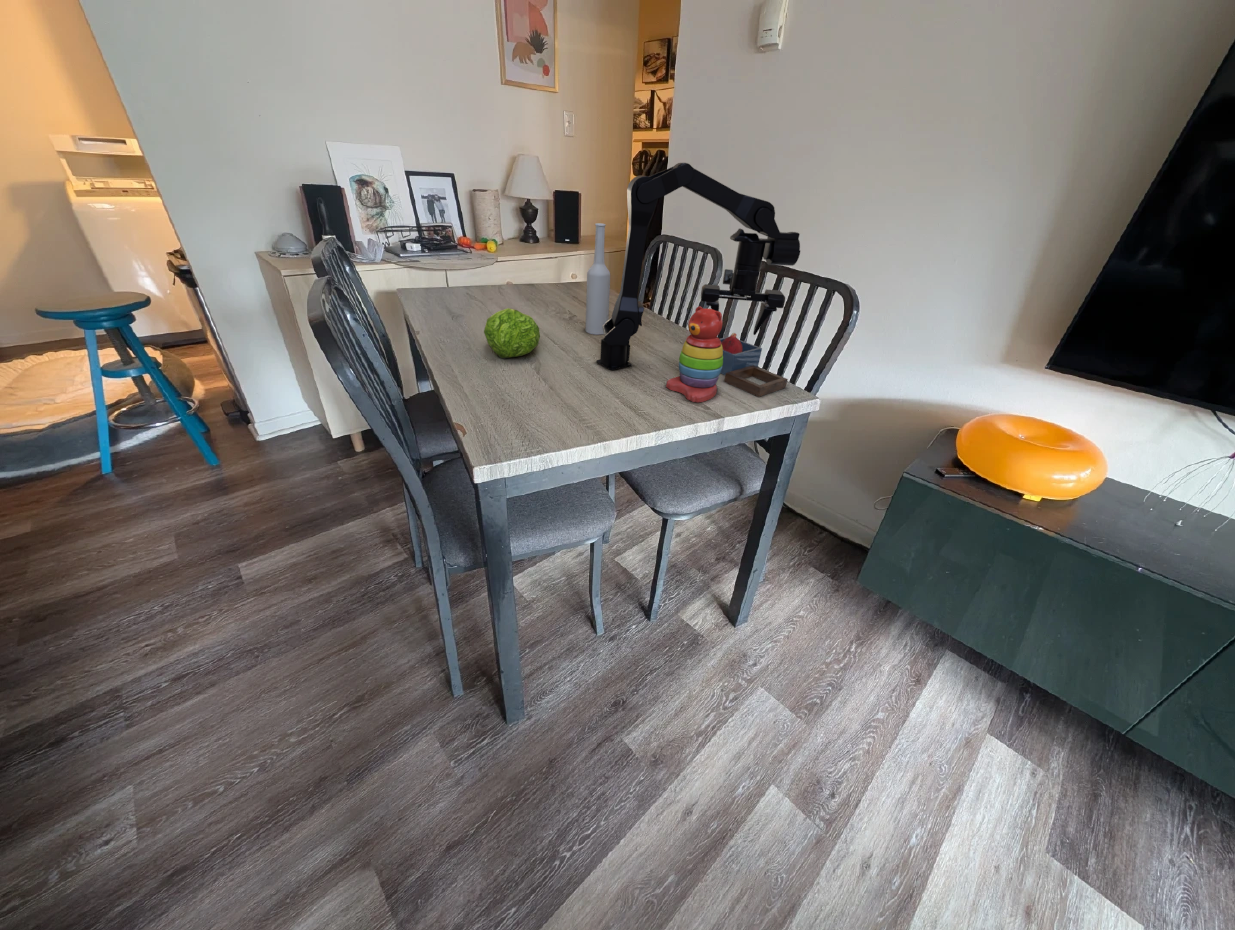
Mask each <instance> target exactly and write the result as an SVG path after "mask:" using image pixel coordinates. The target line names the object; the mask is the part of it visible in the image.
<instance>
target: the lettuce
mask: <svg viewBox="0 0 1235 930" xmlns="http://www.w3.org/2000/svg"><path fill="white" fill-rule="evenodd" d="M483 333H484V336H485V338H486V342H487V344H488V345H489V347H490V348H491V350H492V351H493V352H494V354H496V355H497V356H498V357H499V358H501V359H504V358H505V359H506V358H507V359H508V358H516V357H517V358H518V357H522V356H526V355H527V354H530V353H531V352H533V350H534V349H535V348H536V347H537V346H538V345H539V342H540V338H541V332H540V327H539V325H538V324H537V323H536V321H535V319H533V317H532V316H530V315H529V314H526V313H523V312H521V311H519V310H518V309H514V308H510V307H508V308H504V309H502V310H498V311H497V312H495V313H494V314H492V315H491V316H489V317H487V318H486V322H485V325H484V330H483Z"/></svg>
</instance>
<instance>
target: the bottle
mask: <svg viewBox="0 0 1235 930" xmlns="http://www.w3.org/2000/svg"><path fill="white" fill-rule="evenodd" d="M594 226H595V235H594V236H595V237H594V239H595V240H594V254H593V255H594V256H593V264H592V265H591V266H590V267H589V268H588V270H587V272H586V296H585V297H586V298H585V332H586V333H588V334H590V335H598V336H599V335H604V331H603V327H602V326H603V325H604V324H605V323H606V322H607V321H608V320H609V319H610V295H611V294H610V293H611V271H610V270H609V269H608V267H607V266H606V262H605V239H606V238H605V236H606V226H607V224H605V223H597V222H596V223H595V224H594Z"/></svg>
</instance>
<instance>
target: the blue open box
mask: <svg viewBox="0 0 1235 930" xmlns="http://www.w3.org/2000/svg"><path fill="white" fill-rule="evenodd" d="M728 337H729V336H726V337H721V338H719V339H720V341H721V342H722V341H723V340H724V339H726V338H728ZM739 340H740V342H741V344H742V347H743V350H742V352H740V353H736V354H733V353H730V352H728V351H725V350H723V365H722V370H721V373H720V375H723V376H725V375H726V373H727V372H731V371H735V370H738V369H742V368H745V367H749V366H752V365H754V366H756V367H759V364H760V359H761V355H762V351H763V347H760V346H757V345H755V344H751V343H749V342H746V341H744V340H741V339H739Z"/></svg>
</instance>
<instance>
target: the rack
mask: <svg viewBox="0 0 1235 930" xmlns="http://www.w3.org/2000/svg"><path fill="white" fill-rule="evenodd" d="M724 376H725V377H724V380H723V382H724V383H726V384H728V385H731V386H732V387H735V388H737V389H739V390H741V391H744V392H745V393H748V394H751V395H753V396H755V397H757V398H761V397H763V396H766V395H769V394H772V393H774V392H777V391H781V390H784V389H786V388H787V384H788V380H789V379H788V378H786V377H784V376H782V375H779V374H776V373H774V372H772V371H769V370H766V369H764V368H761V367H759V366H758V367H756V366H754V365H752V366H749V367H745V368H742V369H738V370H735V371H731V372H727V373H726V375H724ZM750 377H753V378H756V379H758V380H761V381H763V382H765V383H761V384H758V383H756V382H753V381H751V380H749V379H747V378H750Z"/></svg>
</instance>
